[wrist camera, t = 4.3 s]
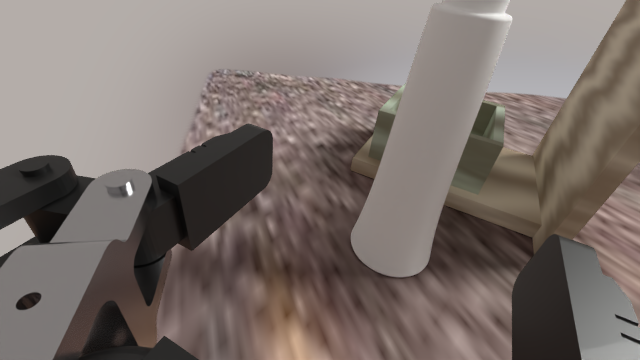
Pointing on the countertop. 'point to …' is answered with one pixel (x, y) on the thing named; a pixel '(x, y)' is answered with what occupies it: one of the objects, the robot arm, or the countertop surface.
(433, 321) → the countertop surface
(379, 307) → the countertop surface
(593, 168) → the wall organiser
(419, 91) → the cosmetic bottle
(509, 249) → the countertop surface
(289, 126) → the countertop surface
